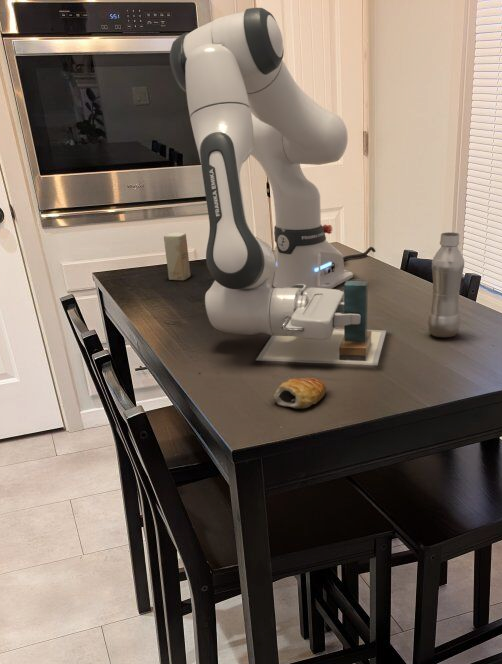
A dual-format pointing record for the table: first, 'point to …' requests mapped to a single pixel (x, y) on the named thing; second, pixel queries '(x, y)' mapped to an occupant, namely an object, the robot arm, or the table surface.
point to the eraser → (355, 334)
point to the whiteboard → (318, 349)
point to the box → (177, 256)
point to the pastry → (300, 392)
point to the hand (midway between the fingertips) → (362, 314)
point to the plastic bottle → (446, 287)
